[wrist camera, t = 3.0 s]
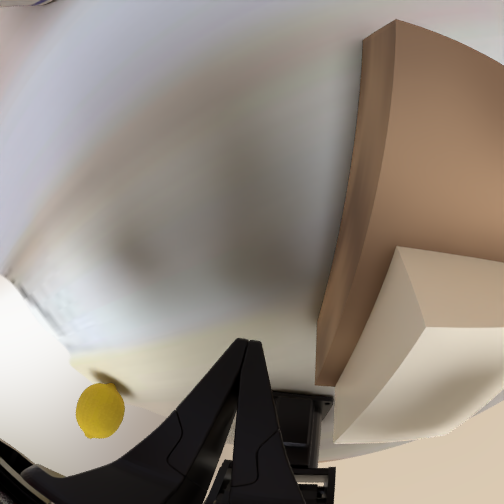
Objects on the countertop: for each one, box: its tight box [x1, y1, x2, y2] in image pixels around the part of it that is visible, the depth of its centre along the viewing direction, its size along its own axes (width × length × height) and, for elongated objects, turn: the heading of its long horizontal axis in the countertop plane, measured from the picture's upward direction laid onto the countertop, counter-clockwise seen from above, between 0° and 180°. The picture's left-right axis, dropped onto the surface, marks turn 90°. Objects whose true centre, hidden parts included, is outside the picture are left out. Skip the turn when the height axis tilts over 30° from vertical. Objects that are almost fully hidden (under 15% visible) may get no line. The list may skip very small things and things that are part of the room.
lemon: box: [76, 383, 125, 439], centre depth 24 cm, size 6×6×8 cm
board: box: [315, 19, 504, 387], centre depth 9 cm, size 14×11×4 cm
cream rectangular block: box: [333, 246, 504, 444], centre depth 8 cm, size 8×6×3 cm
